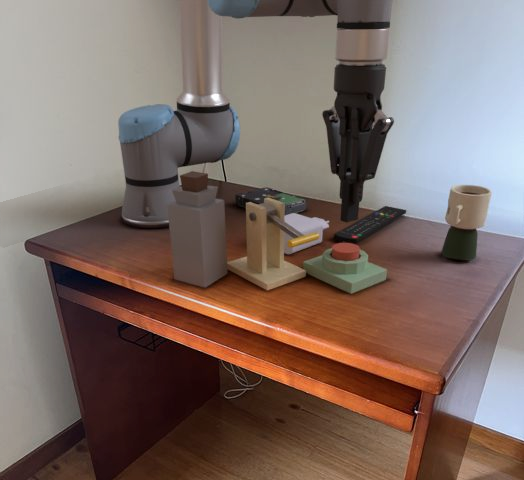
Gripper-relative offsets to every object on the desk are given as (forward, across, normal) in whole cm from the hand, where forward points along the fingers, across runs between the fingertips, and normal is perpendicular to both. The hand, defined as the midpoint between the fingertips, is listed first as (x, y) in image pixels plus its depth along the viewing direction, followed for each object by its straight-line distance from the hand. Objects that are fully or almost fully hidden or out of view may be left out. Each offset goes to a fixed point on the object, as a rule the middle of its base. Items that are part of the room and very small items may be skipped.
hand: (349, 219), depth 92 cm
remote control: (+10, +14, -23) cm, 29 cm away
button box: (+10, 0, 0) cm, 10 cm away
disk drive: (+10, +39, -15) cm, 43 cm away
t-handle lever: (+1, +6, +10) cm, 12 cm away
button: (+7, 0, 0) cm, 7 cm away
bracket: (+10, +10, +10) cm, 18 cm away
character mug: (+11, -8, -23) cm, 26 cm away
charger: (+10, +18, -6) cm, 22 cm away
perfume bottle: (+10, +16, +20) cm, 28 cm away
